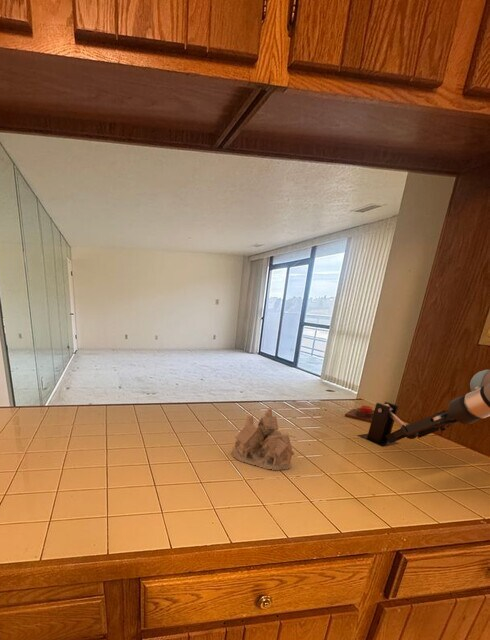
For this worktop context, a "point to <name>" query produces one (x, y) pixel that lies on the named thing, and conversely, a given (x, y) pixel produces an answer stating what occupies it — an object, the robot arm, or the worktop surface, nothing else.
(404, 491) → the worktop surface
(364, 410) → the red button
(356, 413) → the button block
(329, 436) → the worktop surface
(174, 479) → the worktop surface
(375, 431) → the bracket
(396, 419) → the switch lever
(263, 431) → the ceramic cottage
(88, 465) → the worktop surface
